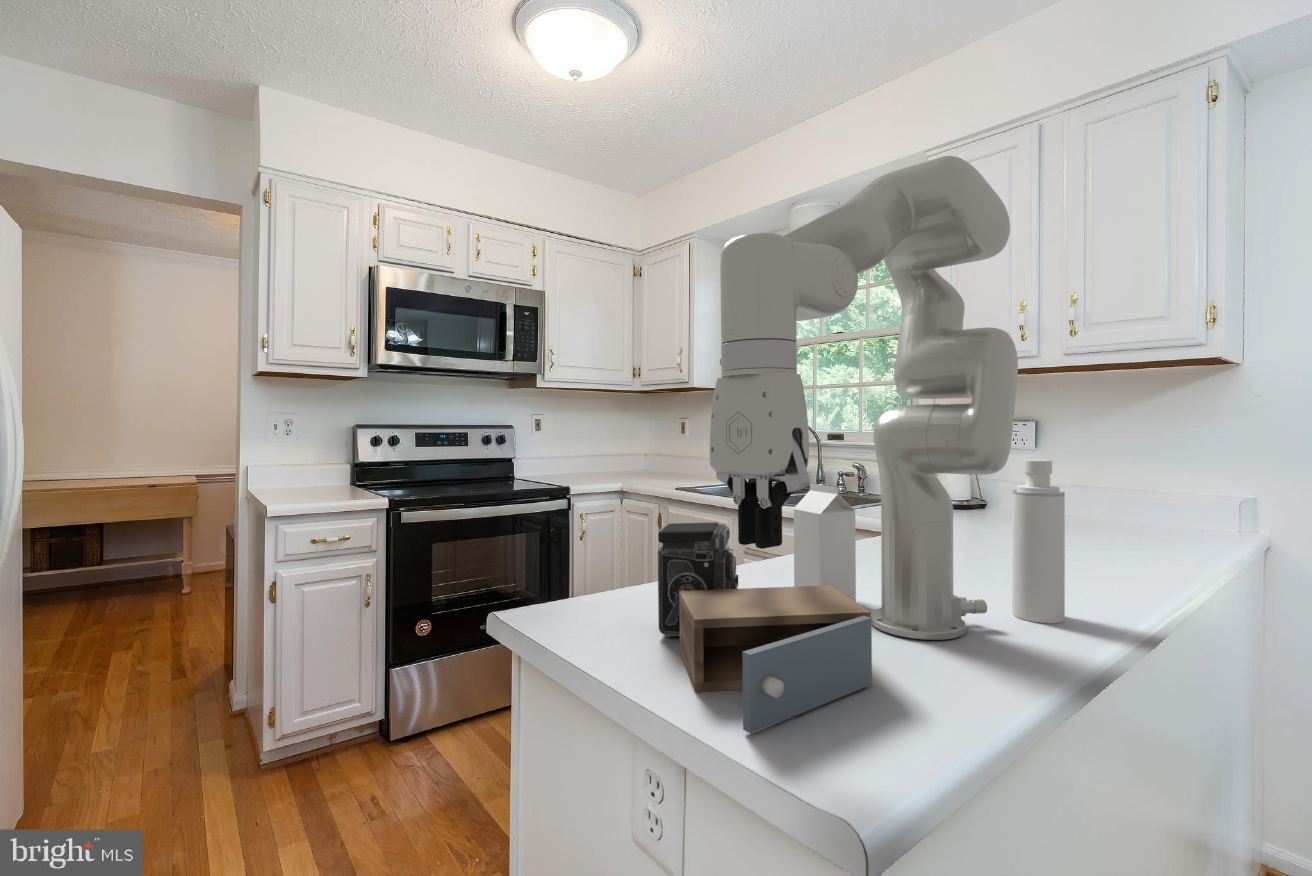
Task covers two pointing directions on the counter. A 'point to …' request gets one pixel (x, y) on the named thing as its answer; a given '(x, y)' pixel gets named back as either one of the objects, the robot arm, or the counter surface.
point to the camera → (691, 566)
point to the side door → (805, 672)
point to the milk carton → (825, 541)
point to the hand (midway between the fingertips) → (760, 543)
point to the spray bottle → (1038, 547)
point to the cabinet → (750, 626)
